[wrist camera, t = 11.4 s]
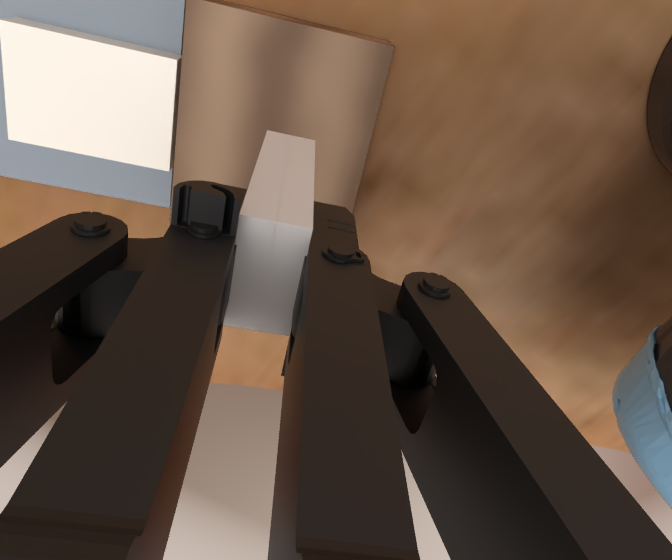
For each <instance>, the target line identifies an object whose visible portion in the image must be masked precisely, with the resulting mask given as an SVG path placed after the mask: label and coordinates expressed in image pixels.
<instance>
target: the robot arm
mask: <svg viewBox="0 0 672 560" xmlns="http://www.w3.org/2000/svg"><path fill="white" fill-rule="evenodd" d="M647 123H648V131H649V136H650V140H651V143H652V146H653V148H654V151H655V153H656V155H657V156H658V158H659V160H660V161H661V162H662V164H663V165H664V166H665V167H666V168H667V169H668V170H669V171H670V172H671V173H672V39H671V41H670V42H669V44H668V46H667V47H666V49H665V51H664V53H663V55H662V57H661V59H660V62H659V64H658V66H657V69H656V72H655V74H654V77H653V81H652V84H651V88H650V93H649V99H648V107H647ZM314 172H315V140H311V139H306V138H302V137H297V136H292V135H288V134H283V133H278V132H274V131H269V130H267V133H266V136H265V139H264V142H263V145H262V148H261V151H260V154H259V157H258V160H257V163H256V166H255V169H254V172H253V175H252V178H251V181H250V184H249V187H248V189H244V188H239V187H234V186H229V185H223V184H219V183H215V182H210V181H202V180H193V181H185V182H180V183H178V184H177V185H175V186H174V187H173V200H172V214H171V225H170V227H169V228H168V230H167V232H166V233H165V235H164V237H160V238H147V239H140V238H128V228H127V225H126V224H125V223H124V222H122V221H121V220H119V219H117V218H115V217H112V216H109V215H104V214H102V213H99V212H92V213H91V212H81V213H76V214H69V215H66V216H63V217H60V218H58V219H56V220H54V221H52V222H50V223H48V224H46V225H44V226H42V227H40V228H39V229H37V230H35V231H33V232H31V233H29V234H27V235H25V236H23V237H21V238H19V239H17V240H16V241H14V242H12V243H10V244H8V245H6V246H4V247H2V248H0V468H1V467H2V466H3V465H4V464H5V463H6V462H7V461H8V460H9V459H10V458H11V457H12V456H13V455H14V454H15V453H16V452H17V451H18V450H19V449H20V448H21V447H22V446H23V445H24V444H25V443H26V442H27V441H28V440H29V439H30V438H31V437H32V436H33V435H34V434H35V432H37V431H38V430H39V429H40V428H41V427H42V426H43V425H44V424H45V423H46V422H47V421H48V419H50V418H51V417H52V416H53V415H54V414H55V413H56V412H57V411H58V410H59V409H60V408H61V407H62V406H63V405H64V404H65V403H66V402H67V403H66V405H65V407H64V408H63V410H62V412H61V413H60V415H59V417H58V419H57V420H56V422H55V424H54V426H53V427H52V429H51V431H50V432H49V434H48V436H47V438H46V439H45V441H44V443H43V444H42V446H41V448H40V450H39V451H38V453H37V455H36V456H35V458H34V460H33V462H32V463H31V465H30V467H29V468H28V470H27V472H26V473H25V475H24V477H23V479H22V480H21V482H20V484H19V485H18V487H17V489H16V491H15V492H14V494H13V496H12V497H11V499H10V501H9V503H8V504H7V506H6V507H5V508H4V510H3V511H2V513H1V514H0V560H163V556H164V552H165V548H166V544H167V541H168V537H169V533H170V529H171V525H172V521H173V518H174V514H175V510H176V507H177V503H178V499H179V495H180V492H181V488H182V484H183V480H184V476H185V473H186V469H187V465H188V462H189V457H190V454H191V450H192V446H193V443H194V439H195V435H196V431H197V428H198V424H199V420H200V416H201V412H202V409H203V405H204V401H205V397H206V394H207V390H208V386H209V382H210V378H211V375H212V371H213V367H214V363H215V360H216V356H217V352H218V348H219V344H220V341H221V336H222V329H223V325H225V326H231V327H237V328H243V329H249V330H255V331H261V332H267V333H273V334H280V335H286V336H289V335H290V338H289V342H288V347H287V351H286V356H285V360H284V365H283V369H282V374H281V376H284V387H283V398H282V409H281V420H280V431H279V443H278V454H277V464H276V475H275V486H274V496H273V508H272V518H271V529H270V541H269V551H268V560H420V557H419V553H418V549H417V543H416V537H415V531H414V525H413V519H412V513H411V507H410V501H409V495H408V489H407V482H406V477H405V470H404V464H403V458H402V452H403V455H404V457H405V459H406V461H407V463H408V466H409V468H410V470H411V472H412V474H413V477H414V479H415V481H416V483H417V485H418V488H419V490H420V492H421V494H422V497H423V499H424V501H425V503H426V505H427V508H428V510H429V512H430V514H431V517H432V519H433V521H434V523H435V525H436V528H437V530H438V532H439V534H440V536H441V539H442V541H443V543H444V545H445V548H446V550H447V552H448V554H449V556H450V559H451V560H672V544H671V543H670V541H669V540H668V539H667V538H666V536H665V535H664V534H663V533H662V532H661V530H660V529H659V528H658V527H657V526H656V524H655V523H654V522H653V521H652V520H651V518H650V517H649V516H648V515H647V513H646V512H645V511H644V510H643V509H642V507H641V506H640V505H639V504H638V503H637V501H636V500H635V499H634V498H633V497H632V495H631V494H630V493H629V492H628V491H627V489H626V488H625V487H624V486H623V484H622V483H621V482H620V481H619V479H618V478H617V477H616V476H615V475H614V474H613V472H612V471H611V470H610V469H609V467H608V466H607V465H606V464H605V462H604V461H603V460H602V459H601V458H600V456H599V455H598V454H597V453H596V452H595V450H594V449H593V448H592V447H591V445H590V444H589V443H588V442H587V441H586V439H585V438H584V437H583V436H582V435H581V433H580V432H579V431H578V430H577V428H576V427H575V426H574V425H573V424H572V422H571V421H570V420H569V419H568V418H567V416H566V415H565V414H564V413H563V411H562V410H561V409H560V408H559V407H558V405H557V404H556V403H555V402H554V401H553V399H552V398H551V397H550V396H549V395H548V393H547V392H546V391H545V390H544V388H543V387H542V386H541V385H540V384H539V382H538V381H537V380H536V379H535V378H534V376H533V375H532V374H531V373H530V371H529V370H528V369H527V368H526V367H525V365H524V364H523V363H522V362H521V361H520V359H519V358H518V357H517V356H516V354H515V353H514V352H513V351H512V350H511V348H510V347H509V346H508V345H507V344H506V342H505V341H504V340H503V339H502V337H501V336H500V335H499V334H498V333H497V331H496V330H495V329H494V328H493V327H492V325H491V324H490V323H489V322H488V320H487V319H486V318H485V317H484V316H483V314H482V313H481V312H480V311H479V310H478V308H477V307H476V306H475V305H474V303H473V302H472V301H471V300H470V299H469V297H468V296H467V295H466V294H465V293H464V291H463V290H462V289H461V288H460V287H458V286H457V285H456V284H455V283H453V282H452V281H450V280H448V279H447V278H446V277H444V276H441V275H439V276H438V274H435V273H426V272H412V273H410V274H408V275H406V276H405V278H404V280H403V283H402V286H400V285H397V284H394V283H391V282H389V281H386V280H384V279H381V278H379V277H377V276H376V275H374V274H372V272H371V266H370V261H369V259H368V257H367V255H365V254H364V253H363V252H362V251H360V250H359V246H358V239H357V234H356V227H355V218H354V216H353V215H352V213H351V212H350V211H349V210H348V209H347V208H346V207H342V206H337V205H332V204H327V203H321V202H316V201H314ZM223 322H224V324H223ZM291 326H292V327H291ZM290 331H291V333H290ZM435 374H436V375H437V378H436V376H435ZM612 401H613V409H614V412H615V415H616V417H617V423H618V427H619V430H620V432H621V434H622V437H623V439H624V441H625V443H626V445H627V447H628V449H629V450H630V452H631V454H632V456H633V457H634V459H635V461H636V462H637V464H638V465H639V467H640V468H641V470H642V471H643V473H644V474H645V476H646V477H647V479H648V480H649V481H650V483H651V484H652V485H653V487H654V488H655V489H656V490H657V492H658V493H659V494H660V495H661V497H662V498H663V499H664V500H665V502H666V503H667V504H668V505H669V506H670V507H671V509H672V316H671V317H670V318H669V319H668V320H667V321H666V322H665V323H664V324H663V325H658V326H656V327H655V328H654V329H653V330H652V331H651V332H650V334H649V335H648V337H647V342H646V344H645V345H644V346H643V347H642V348H641V349H640V350H639V352H638V353H637V354H636V355H635V356H634V357H633V358H632V360H631V361H630V362H629V363H628V364H627V365H626V366H625V367H624V369H623V370H622V371H621V372H620V374H619V375H618V377H617V379H616V381H615V384H614V388H613V395H612ZM401 450H402V452H401Z"/></svg>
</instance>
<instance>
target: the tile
mask: <svg viewBox="0 0 672 560" xmlns="http://www.w3.org/2000/svg"><path fill="white" fill-rule="evenodd" d="M0 41H1V54H2V66H3V79H4V91H5V104H6V117H7V129H8V139H9V140H14V141H19V142H24V143H29V144H34V145H39V146H44V147H49V148H54V149H59V150H64V151H69V152H74V153H78V154H83V155H88V156H93V157H98V158H103V159H108V160H113V161H118V162H123V163H128V164H133V165H138V166H143V167H148V168H153V169H158V170H163V171H168V172H169V171H170V170H171V169H172V167H173V166H174V158H175V144H176V131H177V118H178V104H179V91H180V78H181V64H182V55H180V54H176V53H172V52H167V51H163V50H159V49H154V48H150V47H146V46H141V45H137V44H132V43H128V42H124V41H119V40H115V39H111V38H106V37H102V36H98V35H93V34H89V33H85V32H80V31H76V30H71V29H67V28H63V27H58V26H54V25H50V24H45V23H41V22H37V21H32V20H28V19H23V18H19V17H12V18H5V19H0Z"/></svg>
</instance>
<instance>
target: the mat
mask: <svg viewBox="0 0 672 560" xmlns="http://www.w3.org/2000/svg"><path fill="white" fill-rule="evenodd" d="M185 11H186V0H0V19H5V18H12V17H19V18H23V19H28V20H32V21H37V22H41V23H45V24H50V25H54V26H58V27H63V28H67V29H71V30H76V31H80V32H85V33H89V34H93V35H98V36H102V37H106V38H111V39H115V40H119V41H124V42H128V43H132V44H137V45H141V46H146V47H150V48H154V49H159V50H163V51H167V52H172V53H176V54H180V55H182V51H183V38H184V24H185ZM173 171H174V166H173V167H172V169H171V170H170V171H169V172H168V171H163V170H158V169H153V168H148V167H143V166H138V165H133V164H128V163H123V162H118V161H113V160H108V159H103V158H98V157H93V156H88V155H83V154H78V153H74V152H69V151H64V150H59V149H54V148H49V147H44V146H39V145H34V144H29V143H24V142H19V141H14V140H9V139H8V129H7V117H6V104H5V91H4V79H3V66H2V54H1V41H0V176H5V177H10V178H16V179H21V180H26V181H31V182H37V183H42V184H47V185H52V186H58V187H63V188H68V189H73V190H79V191H84V192H89V193H94V194H100V195H105V196H110V197H115V198H121V199H126V200H131V201H136V202H142V203H147V204H152V205H157V206H162V207H168V208H170V206H171V198H172V184H173Z"/></svg>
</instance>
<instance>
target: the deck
mask: <svg viewBox="0 0 672 560" xmlns="http://www.w3.org/2000/svg"><path fill="white" fill-rule="evenodd" d="M394 48H395V47H394V46H393V45H392V44H391V43H390V42H389V41H386V40H382V39H378V38H374V37H370V36H366V35H362V34H358V33H354V32H349V31H345V30H341V29H337V28H333V27H329V26H325V25H321V24H317V23H313V22H308V21H304V20H300V19H296V18H292V17H288V16H284V15H280V14H276V13H272V12H267V11H263V10H259V9H255V8H251V7H247V6H243V5H239V4H235V3H230V2H226V1H222V0H186V11H185V24H184V38H183V51H182V64H181V78H180V91H179V104H178V118H177V131H176V144H175V158H174V171H173V184H172V198H171V211H170V224H171V214H172V200H173V187H174V186H175V185H177V184H178V183H180V182H185V181H193V180H202V181H210V182H215V183H219V184H223V185H229V186H234V187H239V188H244V189H248V187H249V184H250V181H251V178H252V175H253V172H254V169H255V166H256V163H257V160H258V157H259V154H260V151H261V148H262V145H263V142H264V139H265V136H266V133H267V130H269V131H274V132H278V133H283V134H288V135H292V136H297V137H302V138H306V139H311V140H315V172H314V201H316V202H321V203H327V204H332V205H337V206H342V207H346V208H347V209H348V210H349V211H350V212H351V213H352V212H353V208H354V204H355V200H356V196H357V193H358V189H359V185H360V181H361V177H362V173H363V169H364V165H365V161H366V157H367V153H368V150H369V146H370V142H371V138H372V134H373V130H374V126H375V122H376V118H377V114H378V110H379V107H380V103H381V99H382V95H383V91H384V87H385V83H386V79H387V75H388V71H389V67H390V64H391V60H392V56H393V52H394Z"/></svg>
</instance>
